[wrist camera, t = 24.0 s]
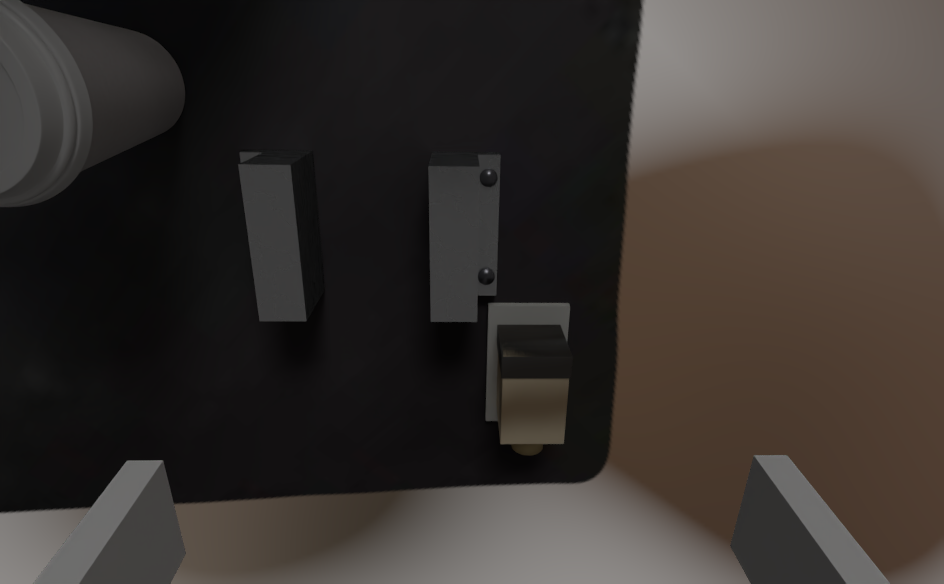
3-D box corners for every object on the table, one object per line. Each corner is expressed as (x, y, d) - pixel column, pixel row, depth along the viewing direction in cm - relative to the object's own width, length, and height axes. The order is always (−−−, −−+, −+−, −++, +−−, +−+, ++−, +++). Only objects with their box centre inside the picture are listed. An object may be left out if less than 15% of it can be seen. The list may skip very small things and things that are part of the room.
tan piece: (497, 324, 43) (502, 357, 39) (560, 324, 43) (572, 357, 39) (494, 426, 47) (498, 467, 42) (552, 426, 47) (563, 467, 42)
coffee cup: (23, 34, 36) (-253, 21, 22) (160, -23, 35) (-39, -76, 21) (109, 180, 39) (-83, 248, 25) (236, 131, 38) (109, 174, 24)
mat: (488, 302, 43) (488, 306, 43) (568, 303, 43) (570, 306, 43) (485, 416, 47) (485, 421, 46) (559, 416, 47) (560, 420, 47)
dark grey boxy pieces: (244, 149, 39) (212, 164, 34) (499, 152, 39) (505, 166, 34) (262, 289, 43) (236, 321, 37) (495, 290, 43) (500, 322, 38)
